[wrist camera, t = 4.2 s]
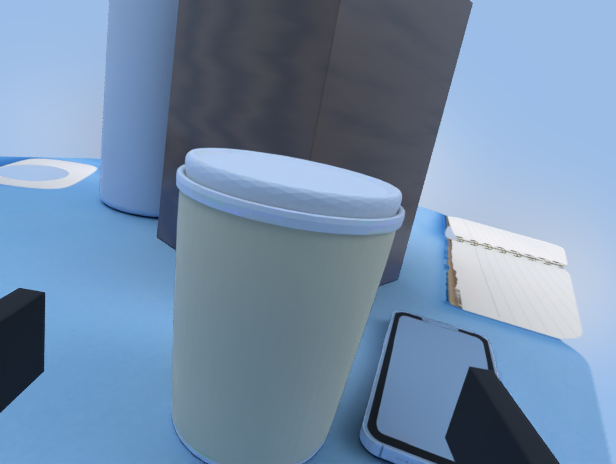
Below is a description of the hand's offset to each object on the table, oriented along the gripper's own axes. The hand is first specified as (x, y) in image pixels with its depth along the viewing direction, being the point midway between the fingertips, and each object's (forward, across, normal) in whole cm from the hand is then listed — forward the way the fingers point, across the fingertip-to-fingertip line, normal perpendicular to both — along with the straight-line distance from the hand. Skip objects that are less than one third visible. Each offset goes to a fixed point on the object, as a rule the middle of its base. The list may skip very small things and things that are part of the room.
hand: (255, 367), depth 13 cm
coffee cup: (+6, 0, -7) cm, 9 cm away
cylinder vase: (+39, -17, -7) cm, 43 cm away
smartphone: (+10, +11, -7) cm, 16 cm away
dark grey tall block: (+28, 0, -6) cm, 29 cm away
